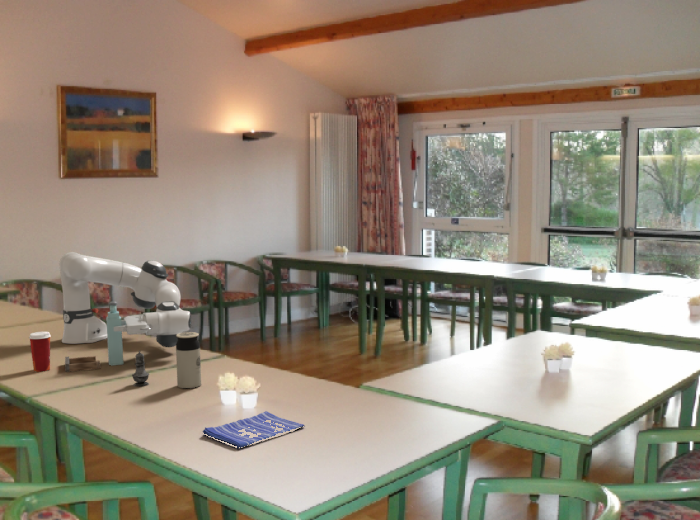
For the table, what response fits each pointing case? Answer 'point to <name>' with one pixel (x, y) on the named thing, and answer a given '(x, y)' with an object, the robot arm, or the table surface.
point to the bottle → (114, 336)
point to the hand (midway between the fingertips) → (113, 326)
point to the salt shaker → (140, 372)
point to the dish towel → (250, 429)
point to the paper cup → (40, 350)
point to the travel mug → (188, 360)
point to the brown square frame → (81, 363)
